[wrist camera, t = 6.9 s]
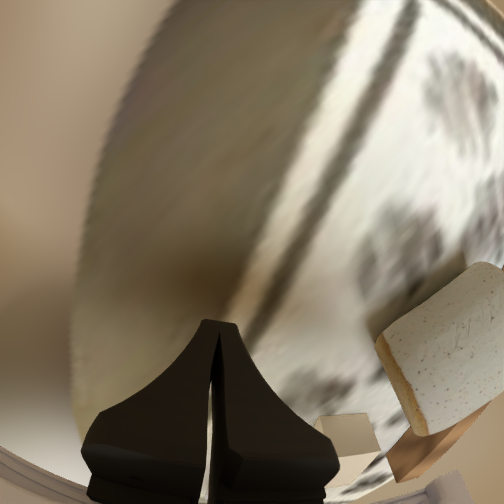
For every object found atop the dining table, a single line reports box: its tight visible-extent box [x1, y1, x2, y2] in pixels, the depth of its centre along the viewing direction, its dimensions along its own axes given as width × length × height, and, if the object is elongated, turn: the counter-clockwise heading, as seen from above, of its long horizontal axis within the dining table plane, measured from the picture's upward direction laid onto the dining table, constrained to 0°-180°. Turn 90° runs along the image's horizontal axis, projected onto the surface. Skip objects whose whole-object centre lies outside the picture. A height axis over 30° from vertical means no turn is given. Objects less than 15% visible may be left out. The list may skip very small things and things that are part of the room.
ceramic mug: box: [375, 262, 504, 437], centre depth 13 cm, size 11×8×8 cm
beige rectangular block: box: [313, 413, 381, 488], centre depth 18 cm, size 6×4×4 cm, turn 171°
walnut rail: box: [386, 267, 504, 483], centre depth 17 cm, size 24×3×4 cm, turn 169°
